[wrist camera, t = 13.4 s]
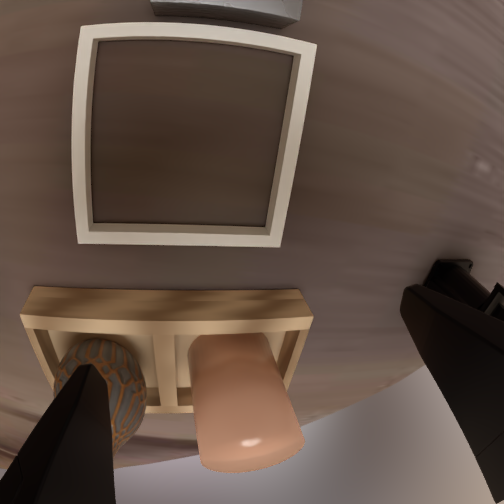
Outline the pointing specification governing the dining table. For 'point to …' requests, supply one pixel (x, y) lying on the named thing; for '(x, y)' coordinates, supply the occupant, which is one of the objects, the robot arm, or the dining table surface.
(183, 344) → the pallet
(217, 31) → the white square frame
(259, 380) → the block
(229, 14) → the button housing
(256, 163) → the dining table surface
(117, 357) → the vase
